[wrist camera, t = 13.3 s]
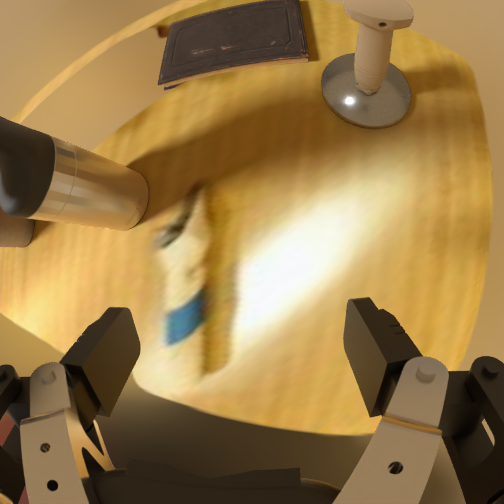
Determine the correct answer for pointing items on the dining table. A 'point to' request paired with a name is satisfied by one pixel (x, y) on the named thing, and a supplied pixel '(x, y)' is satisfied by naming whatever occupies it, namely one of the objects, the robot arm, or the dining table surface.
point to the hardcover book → (234, 41)
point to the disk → (364, 95)
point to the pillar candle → (15, 230)
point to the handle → (375, 37)
